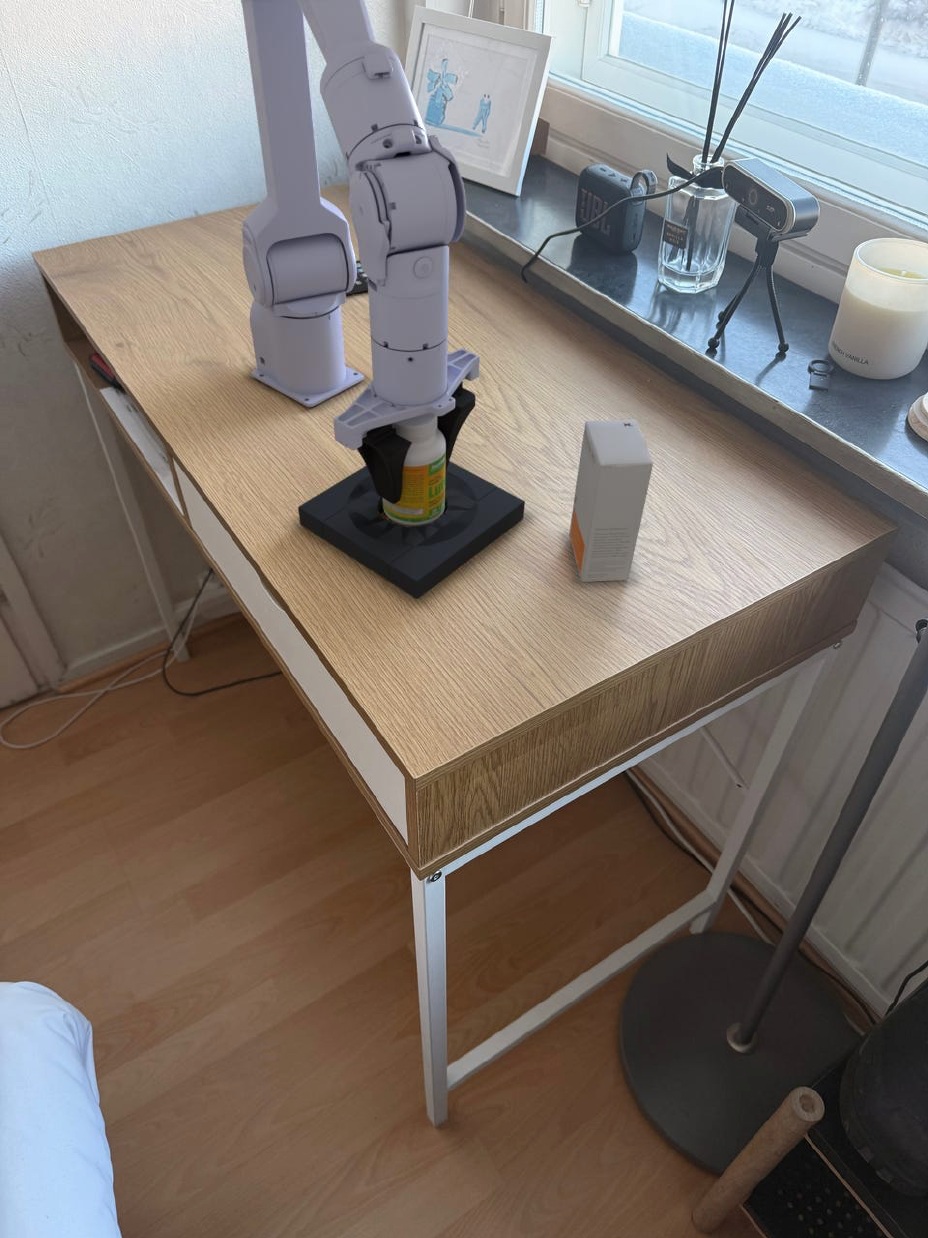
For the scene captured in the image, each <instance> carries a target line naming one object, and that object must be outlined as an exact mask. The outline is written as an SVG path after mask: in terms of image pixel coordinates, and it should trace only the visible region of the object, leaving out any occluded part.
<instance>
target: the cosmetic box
mask: <svg viewBox="0 0 928 1238" xmlns="http://www.w3.org/2000/svg"><path fill="white" fill-rule="evenodd" d="M647 445H648V444H647V442H646V439H645V437H644V436H643V433H642V431H641V429H640V426H639V424H638V421H637V420H636V419H606V420H605V419H604V420H601V419H600V420H586V421H585V422H584V428H583V436H582V442H581V448H580V449H581V450H580V457H579V463H578V470H577V476H576V484H575V492H574V500H573V506H572V513H571V521H570V527H569V533H568V538H569V540H570V544H571V547H572V551H573V555H574V558H575V562H576V563H575V564H576V566H577V567H576V568H577V572H578V576H579V580H580V582H582V583H591V582H593V583H594V582H609V581H610V582H614V581H628V580H629V578H630V573H631V569H632V565H633V559H634V555H635V550H636V545H637V541H638V536H639V531H640V528H641V523H642V517H643V513H644V510H645V509H644V508H645V504H646V499H647V495H648V491H649V486H650V479H651V475H652V472H653V471H652V470H653V467H654V462H653V460H652V457H651V454H650V452H649V450H648V446H647Z"/></svg>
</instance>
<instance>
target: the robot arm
mask: <svg viewBox="0 0 928 1238" xmlns="http://www.w3.org/2000/svg"><path fill="white" fill-rule="evenodd" d="M240 4H241V7H242V16H243V22H244V31H245V36H246V44H247V52H248V60H249V67H250V75H251V81H252V90H253V96H254V97H253V98H254V104H255V105H254V106H255V110H256V111H255V112H256V120H257V127H258V135H259V141H260V148H261V157H262V163H263V164H262V165H263V171H264V178H265V186H266V196H265V198H264V199H263V200H262V201H261V202H259V204H258V205H256V206H255V207H254V208H253V210H251V211H250V212H249V213H248V214H247V215H246V216H245V217H244V219H242V222H241V223H242V227H241V235H242V263H243V269H244V274H245V277H246V282H247V285H248V288H249V290H250V293H251V296H252V298H253V300H252V303H251V306H250V309H249V310H250V311H249V325H250V330H251V337H252V338H251V339H252V345H253V350H254V357H255V362H256V369H253V370H252V371H251V372H250V374H251V377H252V378H254V379H255V380H258V381H260V382H261V383H263V384H265V385H267V386H269V387H270V388H272V389H274V390H275V391H278V392H280V393H282V394H283V395H285V396H287V397H289V398H290V399H292V400H294V401H296V402H298V403H299V404H301V405H303V406H305V407H307V408H313V407H315V406H317V405H319V404H321V403H323V402H324V401H326V400H328V399H330V398H332V397H334V396H336V395H337V394H340V393H342V392H343V391H345V390H347V389H349V388H351V387H353V386H354V385H357V384H358V383H360V382H362V381H363V380H364V378H365V377H364V374H363V373H361V372H359V371H357V370H355V369H353V368H351V367H349V366H347V365H346V357H345V345H344V332H343V319H342V305H343V304H346V303H347V295H346V294H345V293H347V292H350V291H351V290H352V289H353V286H354V284H355V282H356V277H357V266H356V261H357V259H356V254H355V250H354V247H353V243H352V238H351V230H350V225H349V222H348V220H347V218H346V217H345V215H344V213H343V212H342V210H340V209H339V207H337V206H336V205H334V204H333V203H332V202H330V201H329V200H328V199H325V198H324V197H322V196H321V188H320V187H321V185H320V176H319V175H320V174H319V165H318V155H317V145H316V133H315V132H316V131H315V123H314V122H315V121H314V112H313V101H312V100H313V99H312V91H311V90H312V89H311V79H310V78H311V77H310V68H309V58H308V57H309V56H308V47H307V46H308V45H307V36H306V25H305V20H306V23H307V24H308V26H309V29H310V31H311V34H312V36H313V37H314V40H315V42H316V44H317V46H318V48H319V49H320V50H319V51H320V52H321V54H322V57H323V59H324V61H325V63H326V65H325V67H324V69H323V72H322V73H321V77H320V80H319V92H320V93H319V94H320V96H321V98H322V101H323V104H324V108H325V110H326V112H327V113H326V114H327V116H328V118H329V121H330V123H331V126H332V129H333V132H334V134H335V137H336V140H337V142H338V145H339V148H340V150H341V154H342V156H343V159H344V162H345V165H346V167H347V170H348V173H349V175H350V183H349V193H348V202H349V203H348V204H349V210H350V211H349V212H350V216H351V220H352V225H353V228H354V232H355V234H356V240H357V248H358V261H359V260H360V262H361V268H362V270H363V272H364V273H365V274H366V275H367V277H368V290H367V294H368V295H367V297H368V311H369V312H368V313H369V314H368V315H369V332H370V334H369V335H370V348H371V349H370V350H371V369H372V380H371V381H370V382H369V384H368V385H367V386H366V387H365V388H364V389H363V390H362V391H361V393H360V394H359V395H358V396H357V397H356V398H355V400H353V402H352V403H351V404H350V405H349V406H348V408H347V409H345V410H344V411H343V412H341V414H339V415H338V416H335V417H334V418H333V419H332V421H333V431H334V441H336V442H337V443H339V444H341V445H342V446H343V447H345V448H348V449H350V450H352V451H355V450H357V452H358V453H359V455H360V456H361V458H362V460H363V462H364V464H365V466H367V468H368V470H369V473H370V475H371V478H372V480H373V483H374V486H375V489H376V492H377V495H378V496H380V497H382V498H384V499H385V500H387V501H389V502H390V503H392V504H395V503H397V502H398V501H400V498H401V494H402V474H403V467H404V462H405V458H406V455H407V452H408V450H409V448H410V446H411V444H412V442H410V441H408V440H407V439H405V438H403V437H401V436H399V435H397V434H396V428H392V423H395V422H399V421H402V420H406V419H410V418H413V417H417V416H420V415H424V414H427V413H432V414H434V415H436V416H437V429H439V430H440V431H441V433H442V434H443V436H444V438H445V443H446V468H445V470H446V469H447V467H448V464H449V461H450V462H451V458H452V454H453V450H454V447H455V445H456V441H457V439H458V437H459V434H460V431H461V429H462V427H463V425H464V424H465V422H466V420H467V418H468V417H469V415H470V413H472V411H473V409H474V408H475V407H476V400H477V398H476V394H475V393H474V392H472V391H471V390H468V389H467V388H465V387H463V383H464V381H463V380H467V382H472V381H474V380H476V379H478V378H479V377H480V359H481V358H480V355H478V354H476V353H474V352H472V351H470V350H467V349H464V348H463V347H461V348H458V349H457V350H455V351H451V352H449V353H448V346H449V343H448V342H449V335H448V334H449V333H448V332H449V280H450V279H449V277H450V275H449V273H450V247H449V246H448V244H450V243H456V242H458V241H459V240H460V239H461V237H462V235H463V234H464V231H465V227H466V222H467V199H466V198H467V197H466V191H465V186H464V181H463V177H462V174H461V172H460V168H459V165H458V162H457V160H456V158H455V156H454V154H453V153H452V152H451V151H450V150H449V149H447V148H446V147H444V146H443V145H442V144H441V142H440V140H439V139H440V138H439V137H438V136H436V135H435V134H429V133H427V129H426V127H425V125H424V122H423V119H422V117H421V113H420V111H419V109H418V106H417V104H416V101H415V98H414V95H413V93H412V89H411V87H410V84H409V81H408V79H407V76H406V74H405V70H404V68H403V64H402V63H401V59H400V58H399V56H398V54H397V53H396V52H395V51H394V50H393V49H392V48H390V47H388V46H387V45H385V44H382V43H378V42H376V38H375V35H374V31H373V27H372V24H371V23H372V22H371V20H370V16H369V13H368V9H367V5H366V1H365V0H240Z"/></svg>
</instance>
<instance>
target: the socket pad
mask: <svg viewBox="0 0 928 1238" xmlns="http://www.w3.org/2000/svg"><path fill="white" fill-rule="evenodd" d="M525 504H526V501H525V500H524V499H521V498H519V497H518V496H516V495H514V494H512V493H510V492H508V491H507V490H504V489H503V488H501V487H498V486H497V485H496V484H493V483H492V482H491V481H488V480H486V479H484V478H482V477H480V476H479V475H477V474H475V473H473V472H471V471H469V470H468V469H465V468H464V467H462V466H459V465H458V464H456V463H454V462H453V461H451V460H450V461H449V464H448V467H447V469H446V470H445V508H444V511H443V514H442V515H441V516H440V518H439V519H437V520H436V521H434V522H433V523H430V524H427V525H423V526H412V527H410V526H404V525H400V524H397V523H395V522H393V521H391V520H388V519H387V518H386V517H384V516H383V512H384V509H383V498H382V497H380V496H378V495H377V492H376V489H375V486H374V483H373V480H372V478H371V475H370V473H369V470H368V468H367V466H366V465H364V466H363V467H361V468H360V469H358V470H357V471H354V472H353V473H352V474H350V475H348V476H347V477H345V478H343V479H342V480H340V481H338V482H337V483H335V484H334V485H332V486H330V487H328V488H327V489H325V490H324V491H322V492H320V493H318V494H317V495H315V496H314V497H312V498H310V499H309V500H307V501H305V502H304V503H302V504H301V505H299V506H298V507H297V511H298V516H299V524H300V526H302V527H303V528H305V529H307V531H310V532H311V533H312V534H314V535H316V536H317V537H319V538H320V539H322V540H323V541H325V542H326V543H328V544H330V545H332V546H333V547H335V548H336V549H338V550H339V551H341V552H342V553H344V554H345V555H347V556H349V557H350V558H352V559H353V560H355V561H356V562H358V563H360V564H361V565H363V566H364V567H366V568H367V569H369V570H371V571H372V572H374V573H375V574H376V575H378V576H380V577H382V578H383V579H384V580H386V581H388V582H390V583H391V584H393V586H396V587H397V588H399V589H400V590H402V591H403V592H404V593H406V594H408V595H409V596H411V597H412V598H414V599H416V600H418V599H420V598H421V597H422V596H424V595H425V594H426V593H427V592H429V591H430V590H431V589H433V588H434V587H435V586H437V585H438V584H440V583H441V582H442V581H444V579H446V578H447V577H448V576H450V575H451V574H453V573H454V572H455V571H456V570H458V569H459V568H460V567H462V566H463V565H464V564H465V563H467V562H468V561H469V560H471V559H472V558H474V557H475V556H476V555H477V554H479V553H480V552H481V551H483V550H484V549H485V548H487V547H488V546H490V545H491V544H492V543H494V541H496V540H497V539H498V538H500V537H501V536H502V535H504V534H505V533H506V532H508V531H509V530H510V529H512V528H513V527H515V525H517V524H519V522H521V521H522V520H523V519H524V517H525Z"/></svg>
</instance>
